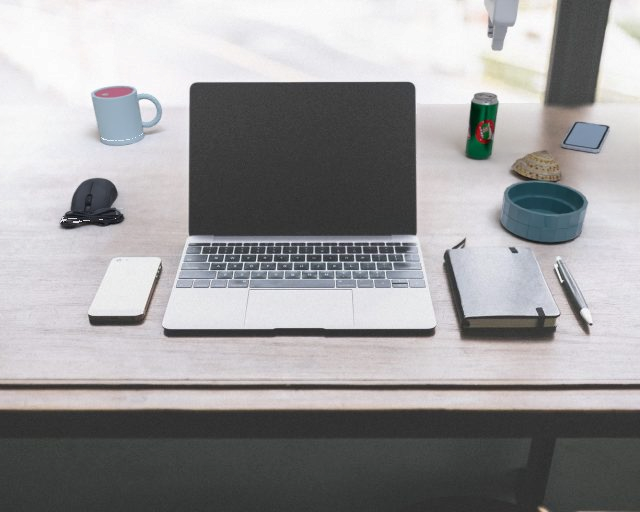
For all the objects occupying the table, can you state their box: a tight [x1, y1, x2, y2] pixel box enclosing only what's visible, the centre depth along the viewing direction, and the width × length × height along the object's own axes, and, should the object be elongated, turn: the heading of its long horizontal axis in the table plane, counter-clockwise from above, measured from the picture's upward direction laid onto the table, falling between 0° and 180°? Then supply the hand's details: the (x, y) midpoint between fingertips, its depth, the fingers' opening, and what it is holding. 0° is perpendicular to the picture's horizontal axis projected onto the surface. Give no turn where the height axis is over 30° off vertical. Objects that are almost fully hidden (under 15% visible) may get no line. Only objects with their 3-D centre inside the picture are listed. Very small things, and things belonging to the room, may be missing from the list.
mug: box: [90, 85, 163, 146], centre depth 132 cm, size 14×9×10 cm
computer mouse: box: [59, 177, 125, 228], centre depth 104 cm, size 10×15×4 cm
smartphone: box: [560, 121, 611, 154], centre depth 129 cm, size 7×1×15 cm
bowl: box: [499, 180, 589, 244], centre depth 96 cm, size 12×12×5 cm
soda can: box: [464, 91, 500, 161], centre depth 119 cm, size 5×5×12 cm
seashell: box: [511, 149, 563, 182], centre depth 113 cm, size 8×6×8 cm
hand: (494, 43), depth 109 cm, fingers open, 8 cm apart
